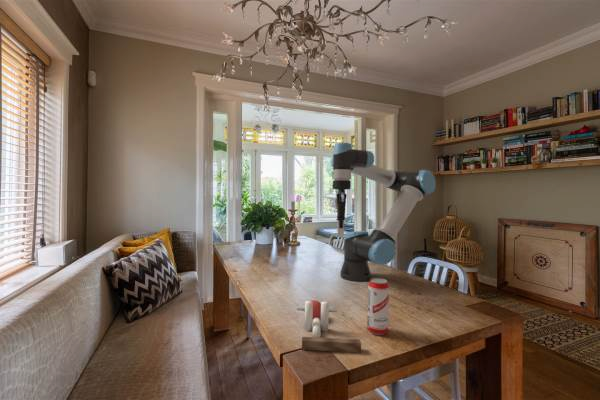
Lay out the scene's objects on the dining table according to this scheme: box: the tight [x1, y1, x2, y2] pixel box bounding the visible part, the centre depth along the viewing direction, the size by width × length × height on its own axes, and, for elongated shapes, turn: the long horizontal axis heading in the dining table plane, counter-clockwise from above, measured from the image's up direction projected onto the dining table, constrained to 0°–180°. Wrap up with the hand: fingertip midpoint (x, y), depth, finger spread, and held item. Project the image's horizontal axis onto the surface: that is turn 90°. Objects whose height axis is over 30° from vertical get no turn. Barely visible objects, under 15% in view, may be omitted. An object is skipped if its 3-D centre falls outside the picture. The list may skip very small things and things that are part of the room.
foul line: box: [296, 307, 337, 312], centre depth 103 cm, size 14×2×1 cm, turn 87°
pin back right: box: [320, 301, 330, 333], centre depth 88 cm, size 2×2×8 cm
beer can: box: [366, 277, 390, 336], centre depth 88 cm, size 6×6×16 cm
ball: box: [311, 299, 321, 320], centre depth 96 cm, size 6×6×6 cm
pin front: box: [311, 317, 322, 338], centre depth 87 cm, size 2×2×8 cm
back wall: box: [301, 336, 362, 353], centre depth 78 cm, size 16×2×2 cm, turn 87°
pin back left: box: [304, 300, 313, 332], centre depth 88 cm, size 2×2×8 cm
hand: (340, 235), depth 120 cm, fingers closed
